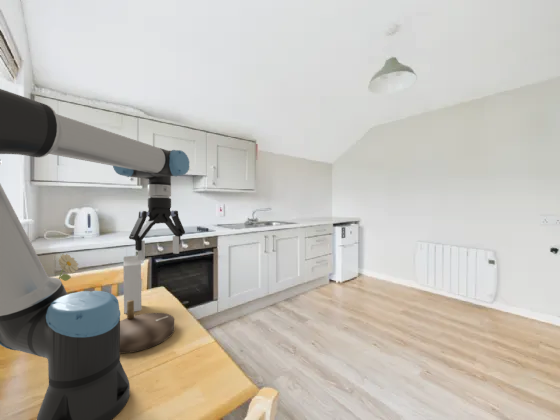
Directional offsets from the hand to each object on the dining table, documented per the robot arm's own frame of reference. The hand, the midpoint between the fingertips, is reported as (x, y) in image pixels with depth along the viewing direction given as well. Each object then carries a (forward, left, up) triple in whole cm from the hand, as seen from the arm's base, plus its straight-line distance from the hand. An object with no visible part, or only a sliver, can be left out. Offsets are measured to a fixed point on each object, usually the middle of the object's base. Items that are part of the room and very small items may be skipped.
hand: (159, 256), depth 87 cm
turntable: (-8, -3, -24) cm, 26 cm away
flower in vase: (-24, +27, -25) cm, 43 cm away
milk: (-2, +21, -25) cm, 32 cm away
